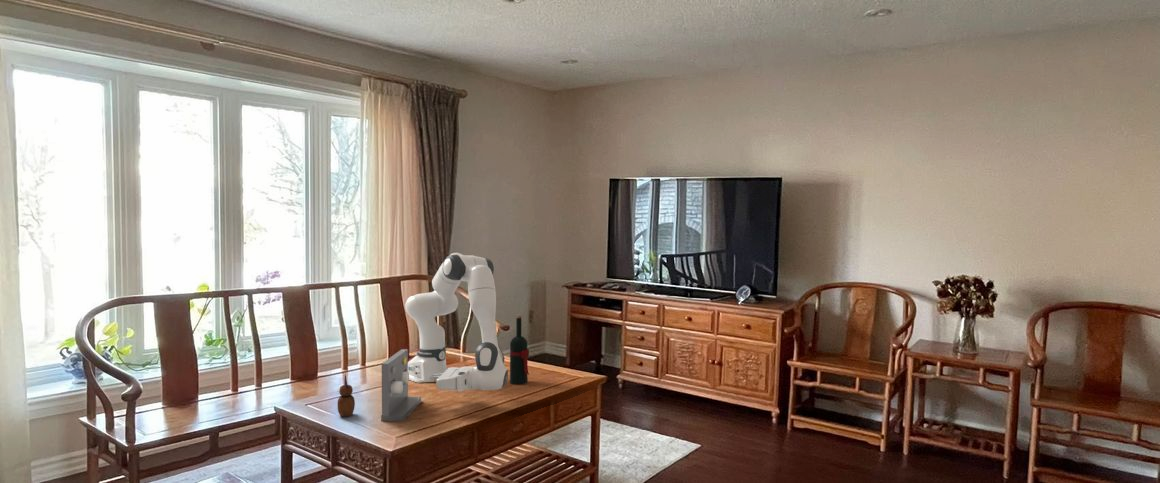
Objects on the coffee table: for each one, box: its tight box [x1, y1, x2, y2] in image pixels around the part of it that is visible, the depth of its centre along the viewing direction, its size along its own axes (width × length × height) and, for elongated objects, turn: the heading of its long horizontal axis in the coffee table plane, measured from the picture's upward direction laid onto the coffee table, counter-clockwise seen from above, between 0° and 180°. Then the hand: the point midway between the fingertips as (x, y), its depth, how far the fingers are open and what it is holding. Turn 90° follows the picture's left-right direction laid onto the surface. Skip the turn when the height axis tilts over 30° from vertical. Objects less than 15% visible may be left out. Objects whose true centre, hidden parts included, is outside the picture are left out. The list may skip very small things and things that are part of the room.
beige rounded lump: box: [402, 372, 410, 384], centre depth 257 cm, size 3×4×4 cm
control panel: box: [380, 348, 422, 422], centre depth 250 cm, size 8×24×21 cm, turn 178°
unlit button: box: [391, 381, 403, 394], centre depth 243 cm, size 3×4×4 cm
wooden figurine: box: [337, 373, 356, 418], centre depth 244 cm, size 7×6×15 cm
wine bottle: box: [509, 314, 530, 386], centre depth 291 cm, size 8×10×30 cm
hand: (430, 377), depth 256 cm, fingers closed
